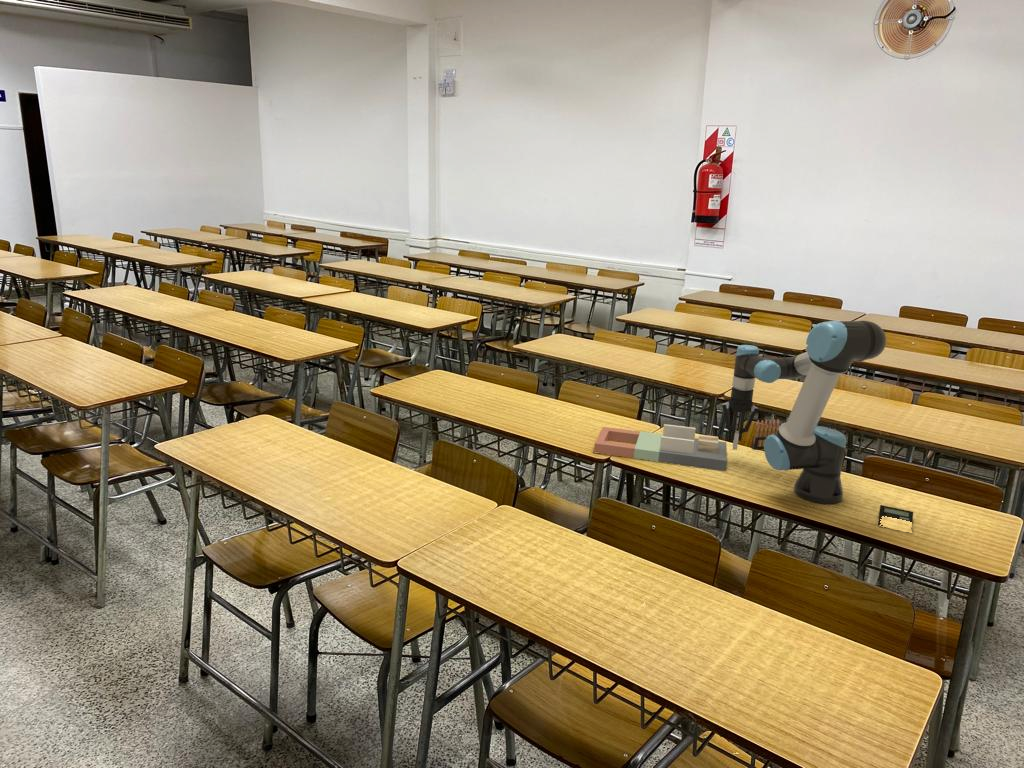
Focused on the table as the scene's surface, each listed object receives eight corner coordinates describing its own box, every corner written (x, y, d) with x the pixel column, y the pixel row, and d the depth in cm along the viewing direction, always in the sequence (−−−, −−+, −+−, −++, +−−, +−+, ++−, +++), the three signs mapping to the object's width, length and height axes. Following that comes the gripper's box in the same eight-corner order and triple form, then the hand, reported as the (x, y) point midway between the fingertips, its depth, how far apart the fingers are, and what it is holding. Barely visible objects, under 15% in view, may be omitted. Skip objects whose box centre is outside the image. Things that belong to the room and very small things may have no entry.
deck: (725, 471, 258) (728, 447, 256) (593, 453, 270) (595, 430, 268) (725, 451, 277) (727, 429, 274) (602, 436, 289) (603, 414, 286)
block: (716, 453, 264) (718, 443, 263) (697, 450, 266) (698, 440, 265) (716, 446, 271) (718, 436, 270) (697, 444, 272) (699, 434, 271)
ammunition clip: (775, 446, 285) (779, 418, 281) (777, 448, 283) (782, 419, 279) (750, 448, 282) (754, 419, 279) (753, 449, 280) (757, 420, 277)
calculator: (877, 527, 221) (879, 518, 220) (878, 512, 231) (880, 504, 230) (912, 535, 216) (913, 526, 216) (911, 520, 226) (913, 511, 226)
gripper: (761, 386, 261) (752, 447, 267) (724, 382, 264) (716, 442, 271) (762, 392, 254) (753, 454, 260) (724, 388, 257) (716, 449, 264)
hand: (734, 448), depth 266 cm, fingers closed
